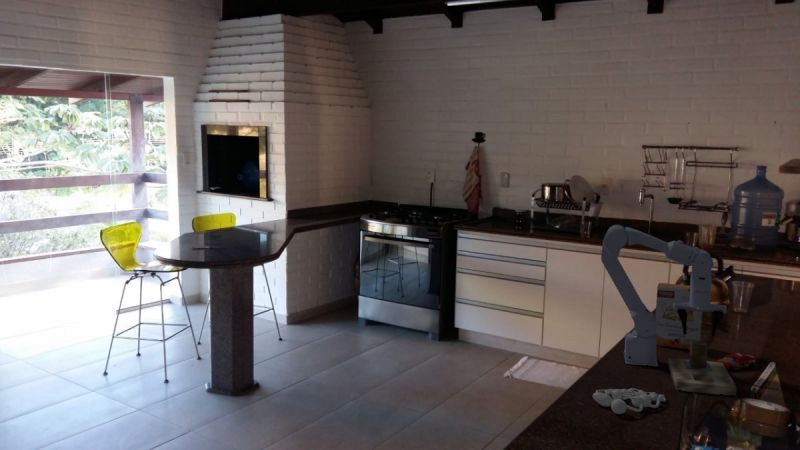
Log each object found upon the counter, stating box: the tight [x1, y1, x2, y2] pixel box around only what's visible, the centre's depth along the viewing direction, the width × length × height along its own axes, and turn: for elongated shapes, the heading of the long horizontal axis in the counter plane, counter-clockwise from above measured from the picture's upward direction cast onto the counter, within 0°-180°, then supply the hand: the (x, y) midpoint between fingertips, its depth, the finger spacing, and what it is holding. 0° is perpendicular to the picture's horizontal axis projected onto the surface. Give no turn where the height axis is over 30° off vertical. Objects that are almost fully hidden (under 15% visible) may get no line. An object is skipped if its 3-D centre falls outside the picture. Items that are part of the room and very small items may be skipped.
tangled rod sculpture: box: [592, 387, 667, 415], centre depth 168 cm, size 19×14×4 cm
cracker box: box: [655, 282, 703, 351], centre depth 213 cm, size 14×6×21 cm, turn 62°
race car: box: [715, 352, 758, 372], centre depth 194 cm, size 13×5×4 cm, turn 106°
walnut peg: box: [689, 340, 709, 368], centre depth 188 cm, size 4×4×7 cm
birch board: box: [667, 357, 738, 397], centre depth 184 cm, size 15×20×3 cm
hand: (698, 334), depth 193 cm, fingers open, 7 cm apart
